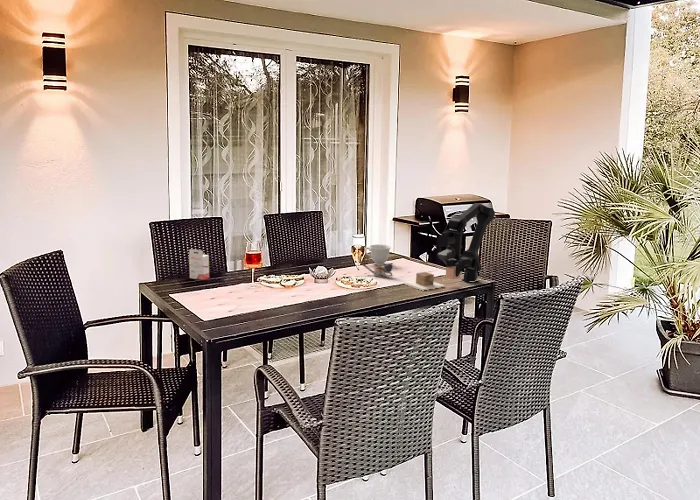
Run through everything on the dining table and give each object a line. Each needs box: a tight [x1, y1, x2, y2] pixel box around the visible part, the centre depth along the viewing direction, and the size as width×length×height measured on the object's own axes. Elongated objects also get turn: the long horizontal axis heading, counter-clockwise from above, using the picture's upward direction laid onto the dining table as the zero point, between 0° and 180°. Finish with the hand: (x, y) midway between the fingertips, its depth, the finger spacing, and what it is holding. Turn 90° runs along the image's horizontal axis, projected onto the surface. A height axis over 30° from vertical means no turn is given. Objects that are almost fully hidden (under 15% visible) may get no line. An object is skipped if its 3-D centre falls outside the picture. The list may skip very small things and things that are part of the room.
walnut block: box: [415, 271, 435, 286], centre depth 286 cm, size 6×6×5 cm
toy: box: [359, 260, 394, 279], centre depth 303 cm, size 9×18×10 cm, turn 74°
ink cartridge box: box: [188, 248, 210, 281], centre depth 287 cm, size 9×5×15 cm, turn 68°
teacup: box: [364, 244, 392, 266], centre depth 328 cm, size 12×15×10 cm
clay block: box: [445, 265, 462, 280], centre depth 286 cm, size 5×5×5 cm
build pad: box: [404, 280, 446, 292], centre depth 287 cm, size 14×14×1 cm
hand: (453, 275), depth 286 cm, fingers closed on clay block, 5 cm apart
